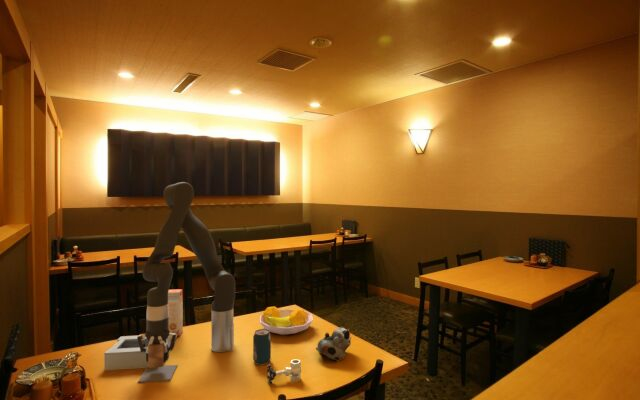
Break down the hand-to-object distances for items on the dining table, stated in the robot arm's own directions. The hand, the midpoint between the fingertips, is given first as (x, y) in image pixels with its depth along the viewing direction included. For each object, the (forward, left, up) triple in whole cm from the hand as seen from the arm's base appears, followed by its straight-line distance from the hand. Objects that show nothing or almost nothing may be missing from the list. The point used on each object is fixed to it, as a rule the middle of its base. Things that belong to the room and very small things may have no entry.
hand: (157, 361), depth 136 cm
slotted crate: (+11, -14, -5) cm, 18 cm away
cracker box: (+7, -39, -5) cm, 40 cm away
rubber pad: (0, 0, -5) cm, 5 cm away
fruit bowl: (-49, -37, -5) cm, 62 cm away
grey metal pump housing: (-68, -7, -5) cm, 68 cm away
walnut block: (0, 0, -1) cm, 1 cm away
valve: (-47, +11, -5) cm, 48 cm away
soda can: (-38, -5, -5) cm, 39 cm away
